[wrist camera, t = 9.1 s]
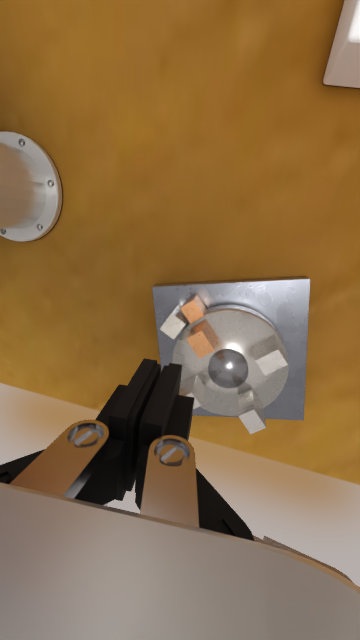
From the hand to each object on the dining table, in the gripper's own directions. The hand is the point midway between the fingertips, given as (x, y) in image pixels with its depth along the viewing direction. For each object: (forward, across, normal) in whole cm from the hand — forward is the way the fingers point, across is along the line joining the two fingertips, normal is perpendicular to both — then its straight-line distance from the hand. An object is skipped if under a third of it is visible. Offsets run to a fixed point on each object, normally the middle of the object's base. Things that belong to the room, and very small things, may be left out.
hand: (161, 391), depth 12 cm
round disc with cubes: (+22, -4, +7) cm, 24 cm away
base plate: (+24, -4, +8) cm, 26 cm away
